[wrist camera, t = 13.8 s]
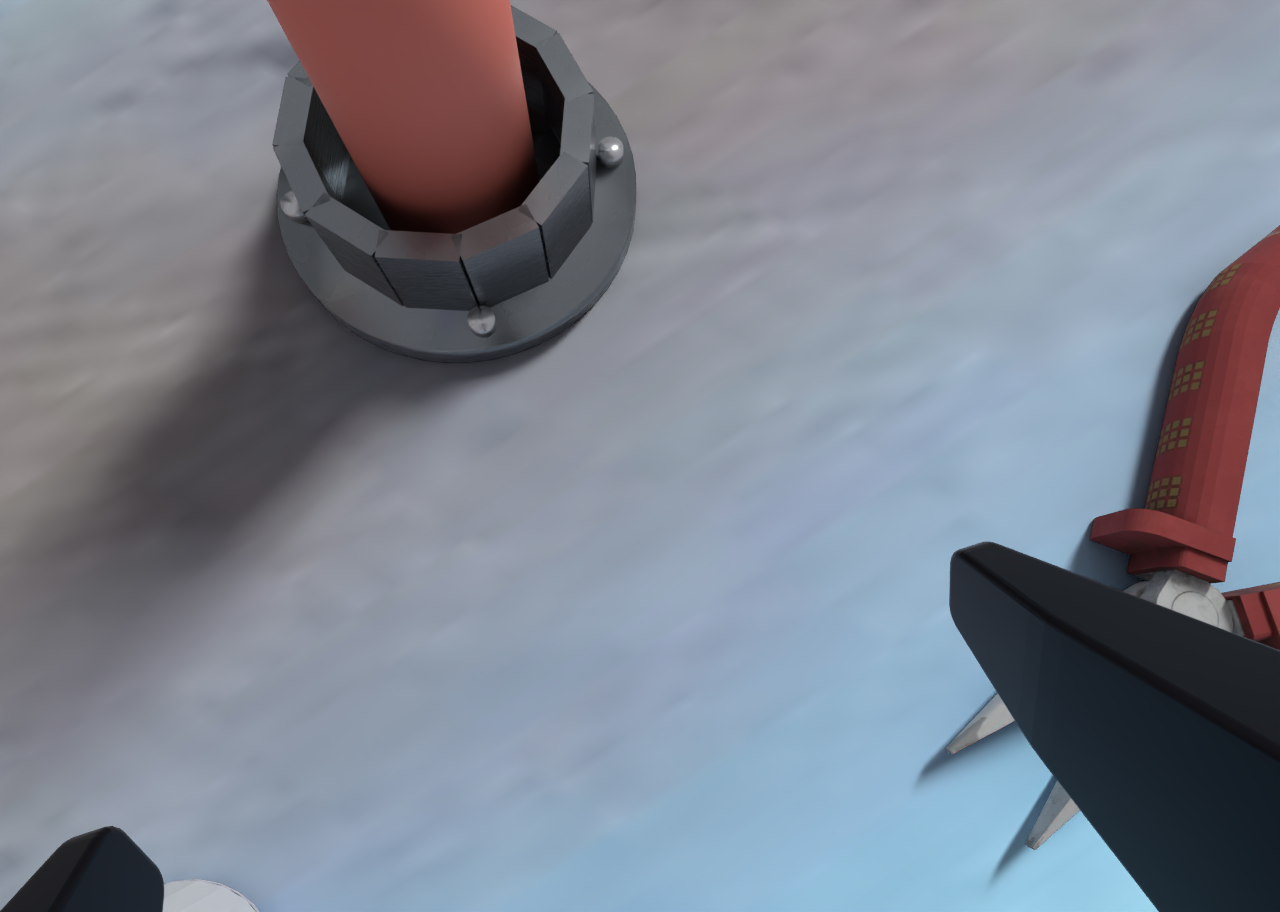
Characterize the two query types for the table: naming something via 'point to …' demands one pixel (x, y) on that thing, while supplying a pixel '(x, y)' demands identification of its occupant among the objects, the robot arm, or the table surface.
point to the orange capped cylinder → (422, 103)
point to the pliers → (1192, 482)
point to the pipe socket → (477, 257)
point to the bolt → (203, 897)
